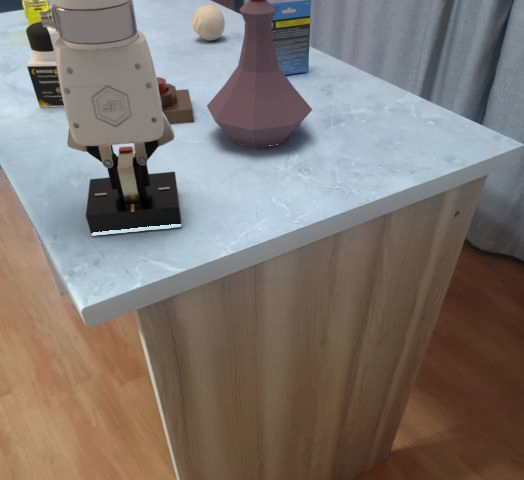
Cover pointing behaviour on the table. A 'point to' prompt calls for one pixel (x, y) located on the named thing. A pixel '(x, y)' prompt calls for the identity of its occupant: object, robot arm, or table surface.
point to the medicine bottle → (44, 65)
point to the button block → (177, 105)
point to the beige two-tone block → (127, 174)
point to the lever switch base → (133, 205)
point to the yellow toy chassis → (34, 9)
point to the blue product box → (292, 36)
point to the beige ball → (208, 22)
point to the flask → (258, 87)
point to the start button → (162, 85)
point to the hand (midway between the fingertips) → (132, 191)
